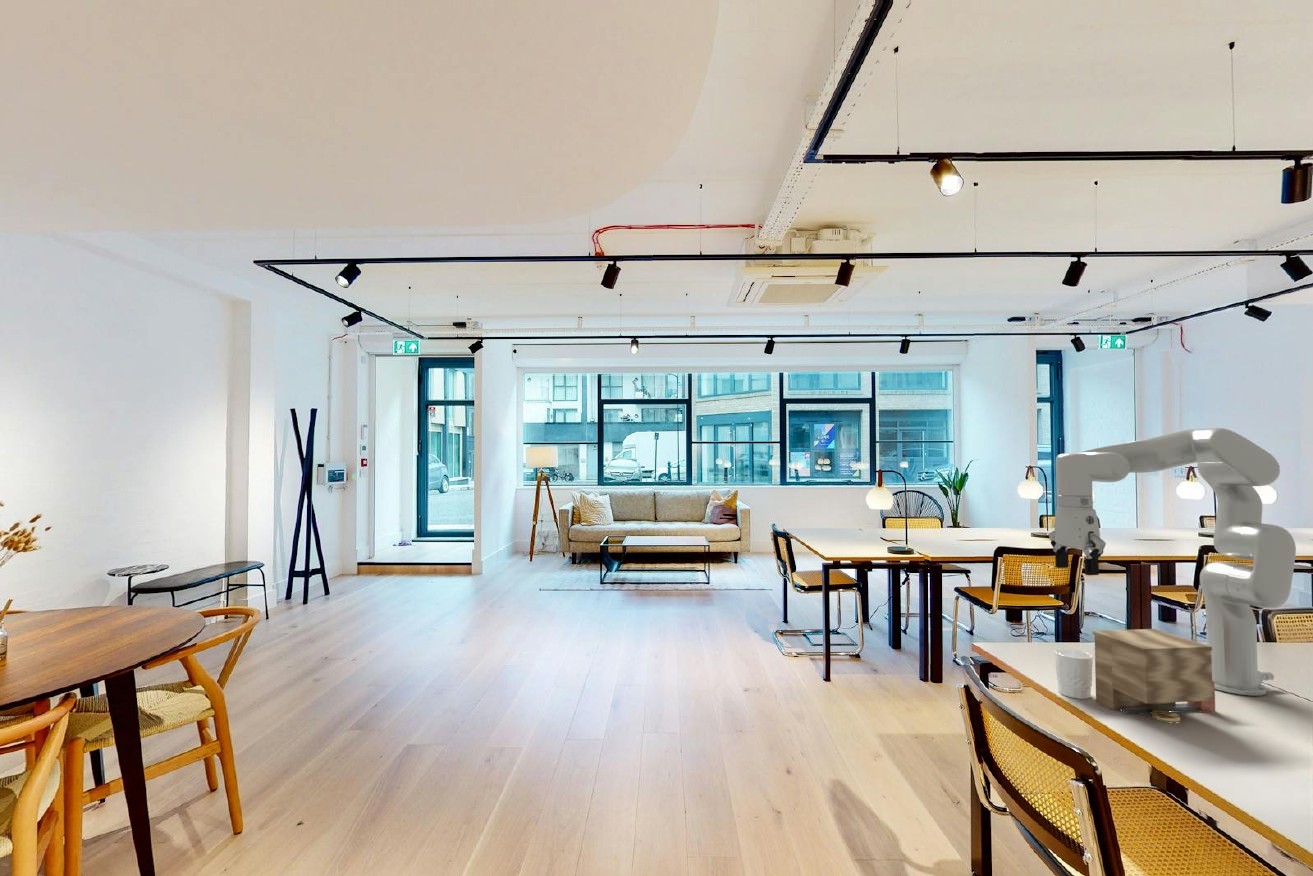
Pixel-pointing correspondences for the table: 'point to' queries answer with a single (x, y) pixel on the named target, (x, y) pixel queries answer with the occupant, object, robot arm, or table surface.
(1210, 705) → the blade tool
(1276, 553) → the robot arm
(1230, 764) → the table surface
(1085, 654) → the white cup
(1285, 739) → the table surface
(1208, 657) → the oak bench cabinet
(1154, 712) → the brass token
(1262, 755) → the table surface
